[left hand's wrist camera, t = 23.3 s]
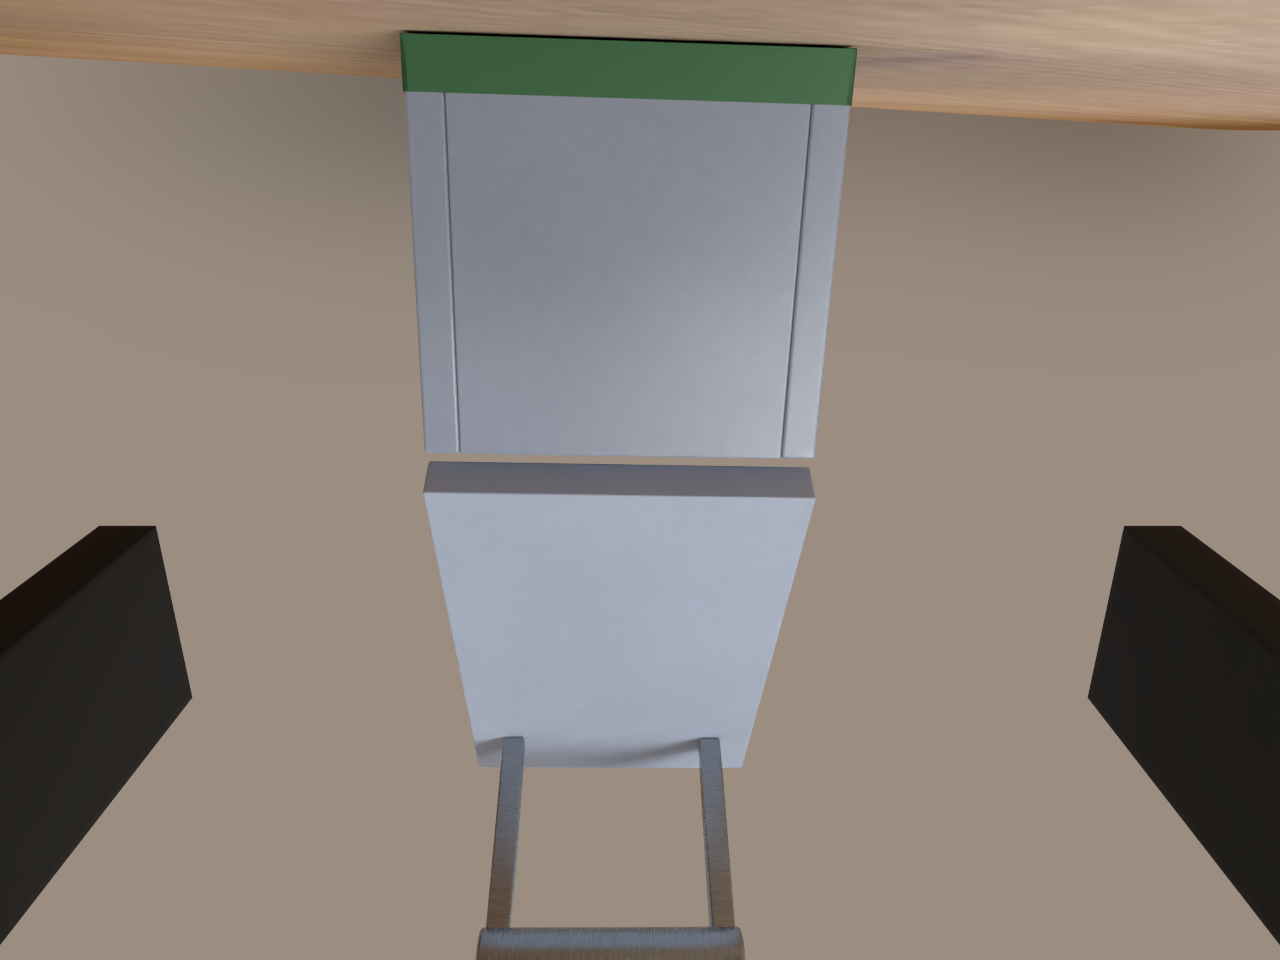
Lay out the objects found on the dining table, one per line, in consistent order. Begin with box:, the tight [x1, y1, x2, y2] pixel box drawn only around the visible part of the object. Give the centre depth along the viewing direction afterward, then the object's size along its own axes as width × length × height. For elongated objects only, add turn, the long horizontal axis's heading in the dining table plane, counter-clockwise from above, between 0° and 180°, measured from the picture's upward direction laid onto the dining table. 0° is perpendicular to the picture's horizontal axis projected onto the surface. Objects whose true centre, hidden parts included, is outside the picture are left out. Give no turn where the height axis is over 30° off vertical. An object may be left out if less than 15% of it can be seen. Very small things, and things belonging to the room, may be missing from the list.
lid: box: [423, 461, 816, 960], centre depth 25 cm, size 15×10×9 cm
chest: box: [400, 33, 857, 459], centre depth 27 cm, size 14×10×9 cm
